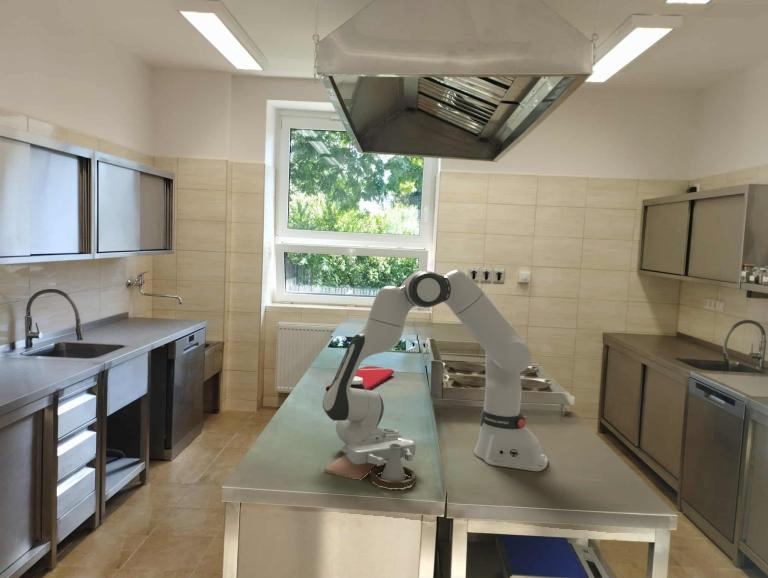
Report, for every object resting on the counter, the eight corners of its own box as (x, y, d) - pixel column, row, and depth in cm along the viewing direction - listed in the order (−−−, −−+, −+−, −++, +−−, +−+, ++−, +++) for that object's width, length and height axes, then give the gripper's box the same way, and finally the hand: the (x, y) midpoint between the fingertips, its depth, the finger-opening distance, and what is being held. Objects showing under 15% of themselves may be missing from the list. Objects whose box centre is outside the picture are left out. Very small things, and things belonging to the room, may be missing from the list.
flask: (410, 480, 169) (413, 445, 168) (397, 488, 163) (400, 452, 162) (388, 473, 173) (391, 438, 172) (374, 481, 167) (377, 445, 166)
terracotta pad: (380, 463, 179) (380, 461, 179) (360, 480, 166) (360, 477, 166) (346, 455, 184) (346, 453, 183) (324, 471, 171) (324, 468, 171)
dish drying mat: (324, 390, 254) (325, 382, 253) (363, 371, 292) (364, 364, 291) (359, 397, 248) (360, 388, 248) (394, 377, 286) (395, 369, 286)
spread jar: (351, 403, 237) (354, 374, 236) (375, 410, 230) (377, 380, 229) (331, 410, 227) (333, 379, 226) (355, 417, 221) (357, 385, 219)
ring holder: (420, 477, 172) (421, 470, 171) (405, 493, 161) (406, 486, 160) (381, 468, 176) (381, 461, 176) (363, 483, 165) (364, 476, 165)
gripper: (339, 436, 173) (363, 454, 161) (400, 428, 184) (427, 444, 172) (337, 458, 173) (362, 477, 162) (398, 449, 184) (425, 466, 173)
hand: (396, 460), depth 167 cm, fingers open, 8 cm apart
